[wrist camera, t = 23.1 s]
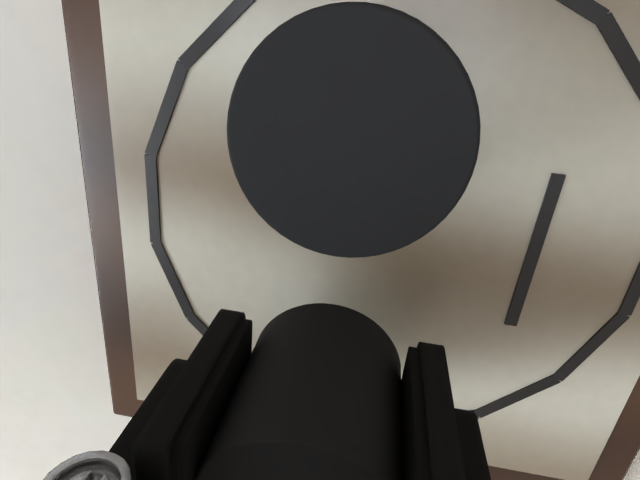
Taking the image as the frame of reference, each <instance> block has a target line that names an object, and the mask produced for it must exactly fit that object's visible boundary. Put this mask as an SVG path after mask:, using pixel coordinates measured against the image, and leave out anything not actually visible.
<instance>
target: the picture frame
mask: <svg viewBox="0 0 640 480" xmlns="http://www.w3.org/2000/svg"><path fill="white" fill-rule="evenodd" d="M339 2H369V3H375V4H381V5H385V6H388V7H391V8H394V9H397V10H400V11H403V12H405V13H407V14H409V15H411V16H413V17H415V18H417V19H419V20H420V21H422V22H423V23H424V24H426V25H427V26H429V27H430V28H432V29H433V30H434V31H435V32H436V33H437V34H438V35H439V36H441V37H442V38H443V39H444V40H445V41H446V42H447V43H448V44H449V46H450V47H451V48H452V50H453V51H454V52H455V53H456V55H457V56H458V57H459V59H460V61H461V62H462V64H463V66H464V68H465V69H466V71H467V73H468V75H469V78H470V80H471V83H472V85H473V88H474V90H475V94H476V98H477V102H478V106H479V114H480V124H481V129H480V146H479V152H478V158H477V162H476V165H475V168H474V171H473V175H472V177H471V179H470V182H469V184H468V186H467V188H466V190H465V192H464V194H463V195H462V197H461V198H460V200H459V202H458V203H457V205H456V206H455V207H454V208H453V210H452V211H451V212H450V213H449V215H448V216H447V217H446V218H445V219H444V220H443V221H442V222H441V223H440V224H439V225H438V226H437V227H435V228H434V229H433V230H432V231H430V232H429V233H428V234H426V235H425V236H423V237H422V238H420V239H419V240H417V241H415V242H413V243H411V244H410V245H408V246H405V247H403V248H400V249H398V250H395V251H393V252H389V253H385V254H382V255H377V256H370V257H359V258H347V257H335V256H330V255H326V254H321V253H318V252H315V251H312V250H309V249H306V248H304V247H302V246H300V245H298V244H295V243H293V242H292V241H290V240H288V239H287V238H285V237H284V236H282V235H280V234H279V233H278V232H277V231H276V230H274V229H273V228H272V227H271V226H269V225H268V224H267V223H266V222H265V221H264V220H263V219H262V218H261V217H260V216H259V215H258V213H257V212H256V211H255V209H254V208H253V207H252V206H251V204H250V203H249V201H248V200H247V198H246V196H245V195H244V193H243V191H242V190H241V188H240V185H239V183H238V181H237V179H236V176H235V174H234V170H233V167H232V164H231V161H230V156H229V150H228V145H227V116H228V108H229V104H230V99H231V95H232V92H233V89H234V86H235V83H236V80H237V78H238V76H239V74H240V72H241V70H242V68H243V66H244V64H245V62H246V61H247V60H248V58H249V57H250V55H251V54H252V52H253V51H254V49H255V48H256V47H257V46H258V45H259V44H260V43H261V42H262V41H263V39H264V38H265V37H266V36H267V35H269V34H270V33H271V32H272V31H273V30H275V29H276V28H277V27H278V26H279V25H281V24H283V23H284V22H286V21H287V20H289V19H291V18H292V17H294V16H296V15H298V14H300V13H303V12H305V11H307V10H309V9H312V8H316V7H319V6H323V5H326V4H331V3H339ZM62 8H63V16H64V24H65V32H66V40H67V48H68V55H69V63H70V71H71V79H72V87H73V95H74V103H75V111H76V119H77V126H78V134H79V142H80V150H81V158H82V166H83V174H84V182H85V190H86V198H87V205H88V213H89V221H90V229H91V237H92V245H93V253H94V261H95V269H96V276H97V284H98V292H99V300H100V308H101V316H102V324H103V332H104V340H105V348H106V355H107V363H108V371H109V379H110V387H111V395H112V403H113V411H114V413H115V414H119V415H124V416H129V417H133V416H134V415H135V413H136V412H137V410H138V409H139V407H140V406H141V404H142V403H143V402H144V400H145V399H146V397H147V396H148V394H149V393H150V392H151V390H152V389H153V387H154V386H155V384H156V383H157V381H158V380H159V379H160V377H161V376H162V374H163V373H164V371H165V370H166V368H167V367H168V366H169V364H170V363H171V362H172V361H173V360H174V359H176V358H178V359H183V360H188V358H189V356H190V355H191V353H192V352H193V350H194V349H195V347H196V346H197V344H198V343H199V341H200V339H201V338H202V336H203V335H204V333H205V332H206V330H207V329H208V327H209V326H210V324H211V322H212V321H213V319H214V318H215V316H216V315H217V313H218V312H219V310H220V309H227V310H233V311H239V312H244V313H245V316H246V319H249V320H252V324H253V327H252V351H253V349H254V347H255V345H256V342H257V340H258V338H259V336H260V334H261V332H262V331H263V329H264V328H265V326H266V325H267V324H268V323H269V322H270V321H271V320H272V319H274V318H275V317H276V316H278V315H279V314H281V313H283V312H284V311H286V310H289V309H291V308H294V307H297V306H301V305H305V304H313V303H327V304H335V305H340V306H344V307H347V308H350V309H353V310H356V311H358V312H360V313H362V314H364V315H365V316H367V317H369V318H370V319H372V320H373V321H374V322H376V323H377V324H378V325H379V326H380V327H381V328H382V329H383V330H384V331H385V332H386V333H387V335H388V336H389V337H390V339H391V340H392V342H393V343H394V345H395V347H396V349H397V352H398V355H399V358H400V363H401V379H402V374H403V369H404V365H405V360H406V356H407V351H408V348H409V346H411V347H417V345H418V342H425V343H431V344H437V345H443V346H444V348H445V353H446V359H447V365H448V371H449V377H450V383H451V390H452V396H453V402H454V408H458V409H463V410H469V411H474V412H475V414H476V416H477V419H478V422H479V427H480V432H481V436H482V441H483V445H484V450H485V454H486V459H487V463H488V468H489V472H490V477H491V480H623V478H624V477H625V475H626V473H627V471H628V469H629V467H630V465H631V464H632V462H633V460H634V458H635V456H636V454H637V452H638V451H639V449H640V0H62Z"/></svg>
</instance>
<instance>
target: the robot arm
mask: <svg viewBox="0 0 640 480" xmlns="http://www.w3.org/2000/svg"><path fill="white" fill-rule="evenodd" d="M252 327H253V324H252V320H249V319H246V316H245V313H244V312H239V311H233V310H227V309H220V310H219V312H218V313H217V315H216V316H215V318H214V319H213V321H212V322H211V324H210V326H209V327H208V329H207V330H206V332H205V333H204V335H203V336H202V338H201V339H200V341H199V343H198V344H197V346H196V347H195V349H194V350H193V352H192V353H191V355H190V356H189V358H188V360H183V359H178V358H176V359H174V360H173V361H172V362H171V363H170V364H169V366H168V367H167V368H166V370H165V371H164V373H163V374H162V376H161V377H160V379H159V380H158V381H157V383H156V384H155V386H154V387H153V389H152V390H151V392H150V393H149V394H148V396H147V397H146V399H145V400H144V402H143V403H142V404H141V406H140V407H139V409H138V410H137V412H136V413H135V415H134V416H133V417H132V419H131V420H130V422H129V423H128V425H127V426H126V428H125V429H124V430H123V432H122V433H121V435H120V436H119V438H118V439H117V441H116V442H115V443H114V445H113V446H112V448H111V449H110V451H109V452H107V451H89V452H86V453H82V454H79V455H75V456H73V457H71V458H69V459H67V460H66V461H64V462H62V463H60V464H59V465H58V466H57V467H55V468H54V469H53V470H52V471H50V472H49V473H48V474H47V476H46V477H45V478H44V479H43V480H194V479H195V476H196V474H197V472H198V470H199V468H200V465H201V463H202V461H203V459H204V457H205V454H206V452H207V450H208V448H209V446H210V443H211V441H212V439H213V437H214V435H215V432H216V430H217V428H218V426H219V424H220V421H221V419H222V417H223V415H224V413H225V410H226V408H227V406H228V404H229V402H230V400H231V397H232V395H233V393H234V391H235V389H236V386H237V384H238V382H239V380H240V378H241V375H242V373H243V371H244V369H245V367H246V364H247V362H248V360H249V358H250V356H251V353H252ZM401 401H402V448H403V480H491V477H490V472H489V468H488V463H487V459H486V454H485V450H484V445H483V441H482V436H481V432H480V427H479V422H478V419H477V416H476V414H475V412H474V411H469V410H463V409H458V408H454V402H453V396H452V390H451V383H450V377H449V371H448V365H447V359H446V353H445V348H444V346H443V345H437V344H431V343H425V342H418V345H417V347H411V346H409V348H408V351H407V356H406V360H405V365H404V369H403V374H402V379H401Z"/></svg>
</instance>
